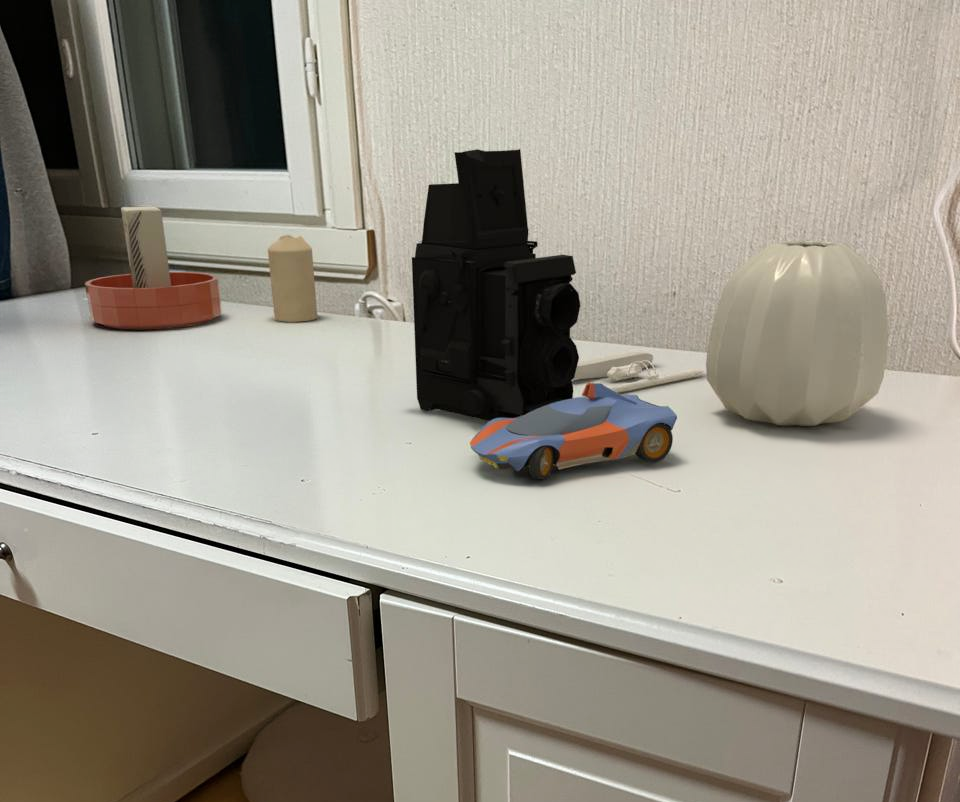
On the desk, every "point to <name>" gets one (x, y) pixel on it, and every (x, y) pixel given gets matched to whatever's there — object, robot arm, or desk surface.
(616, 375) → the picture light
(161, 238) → the box
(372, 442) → the desk surface
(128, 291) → the bowl
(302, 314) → the candle
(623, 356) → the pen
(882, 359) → the vase
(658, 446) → the toy car
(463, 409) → the camera
